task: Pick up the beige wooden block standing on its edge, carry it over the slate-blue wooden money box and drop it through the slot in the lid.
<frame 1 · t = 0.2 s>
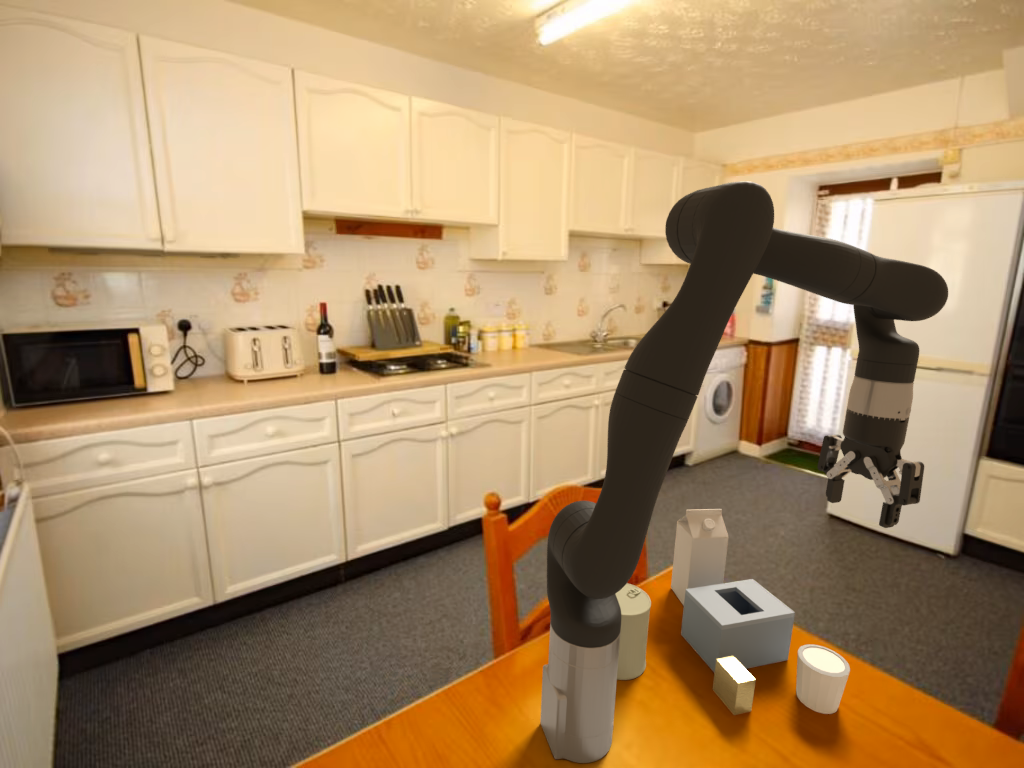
hand: (858, 513, 79), 28 cm above the table, fingers open, 8 cm apart
white cup: (816, 700, 81), on the table
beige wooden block: (731, 700, 80), on the table
can: (617, 660, 88), on the table
milk carton: (694, 598, 105), on the table
coin box: (732, 646, 91), on the table
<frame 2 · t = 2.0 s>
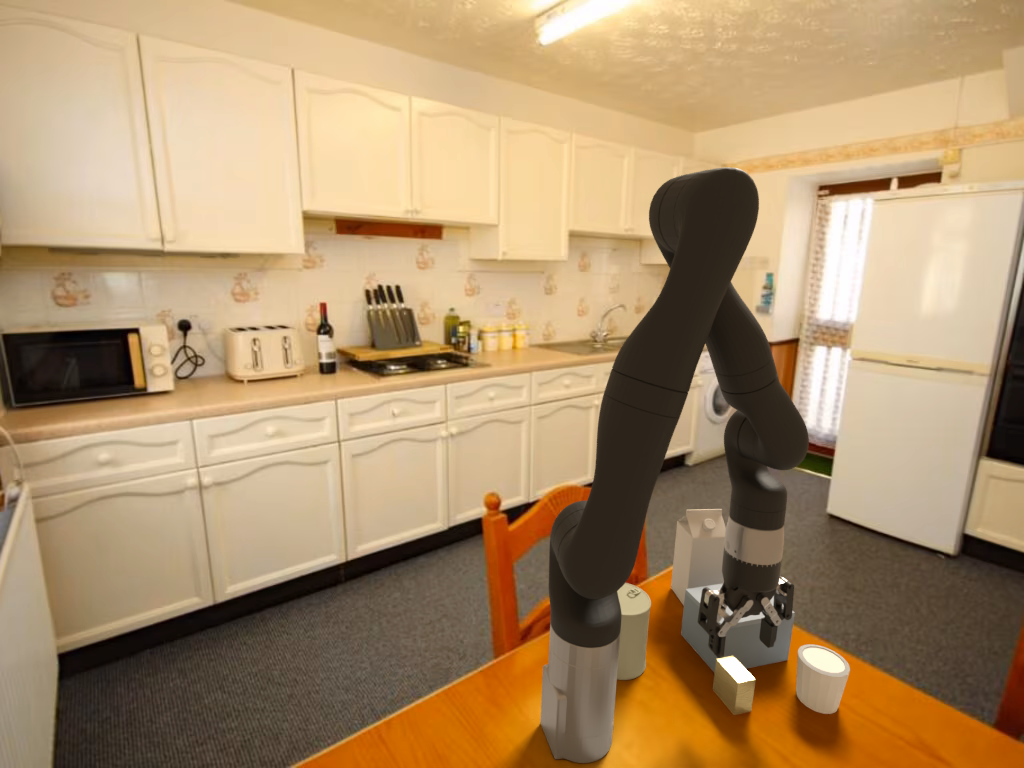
hand: (741, 648, 78), 9 cm above the table, fingers open, 8 cm apart
nothing on the table moved.
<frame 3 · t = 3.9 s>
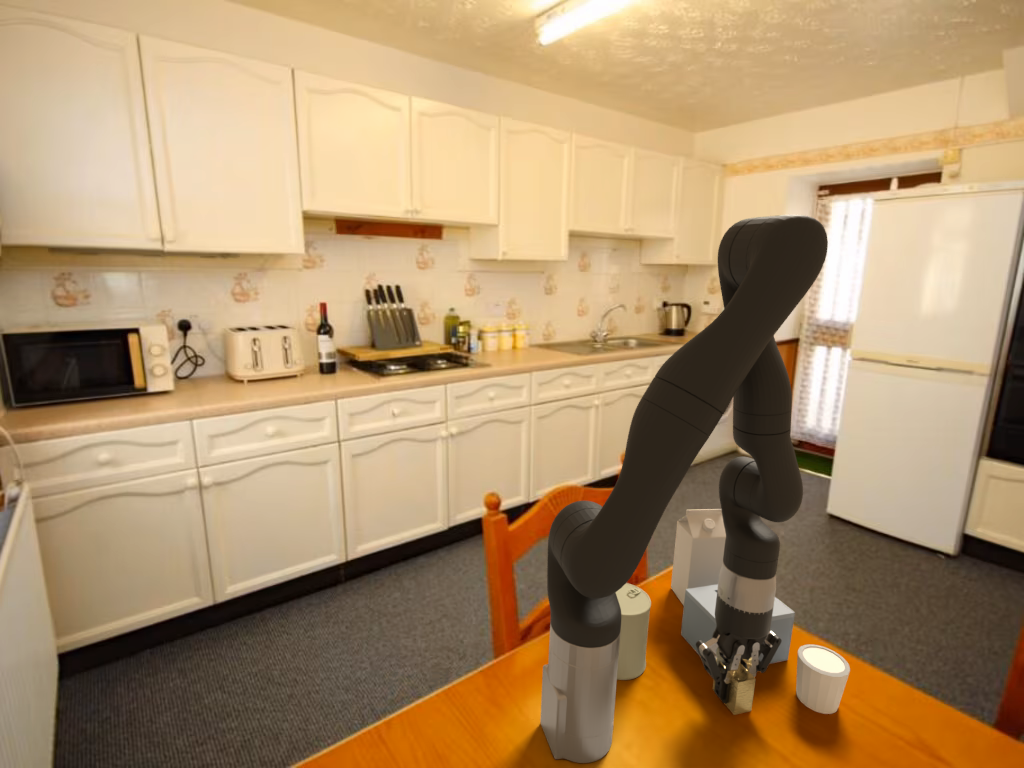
hand: (731, 696, 80), 1 cm above the table, fingers closed on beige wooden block, 2 cm apart
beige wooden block: (731, 699, 80), on the table, touching gripper
everything else where it was.
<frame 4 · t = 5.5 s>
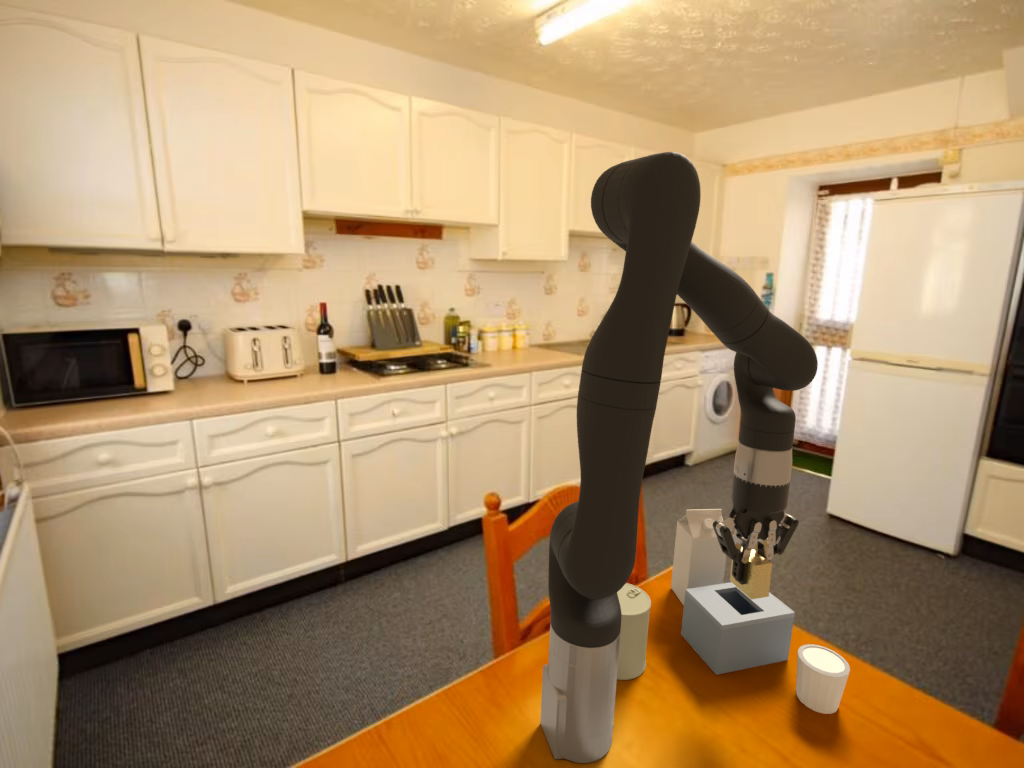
hand: (749, 579, 80), 18 cm above the table, fingers closed on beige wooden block, 2 cm apart
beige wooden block: (748, 588, 81), point 16 cm above the table, touching gripper
everything else where it was.
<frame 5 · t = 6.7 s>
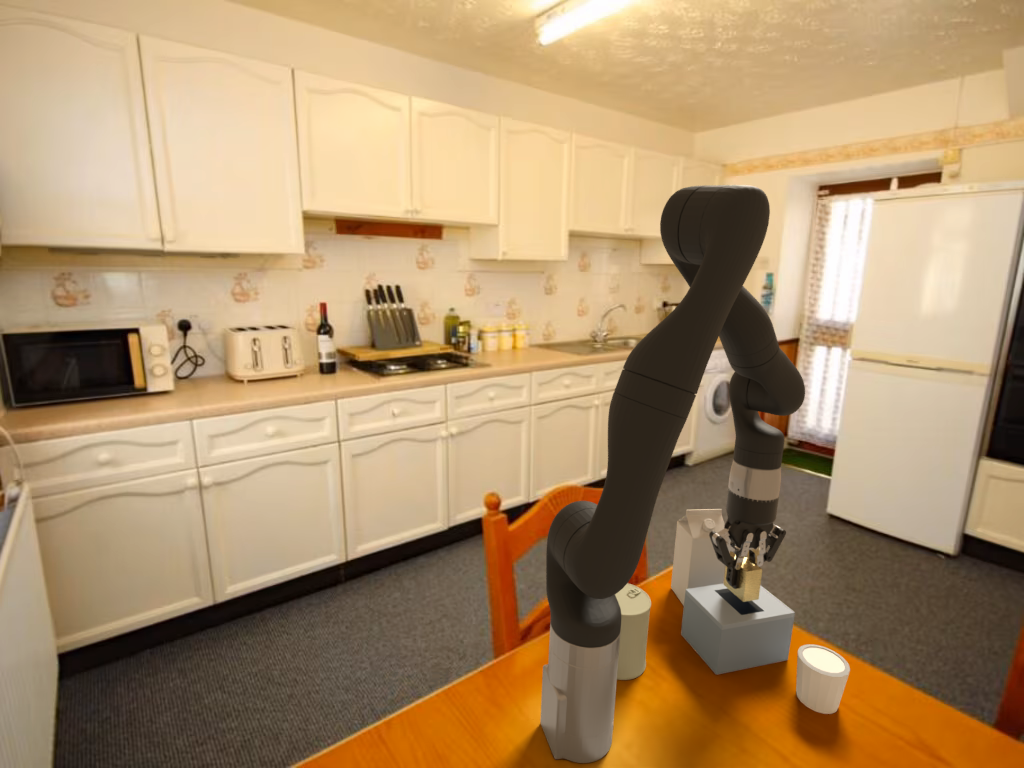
hand: (741, 584, 89), 12 cm above the table, fingers closed on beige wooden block, 2 cm apart
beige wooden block: (740, 591, 89), point 11 cm above the table, touching gripper
everything else where it was.
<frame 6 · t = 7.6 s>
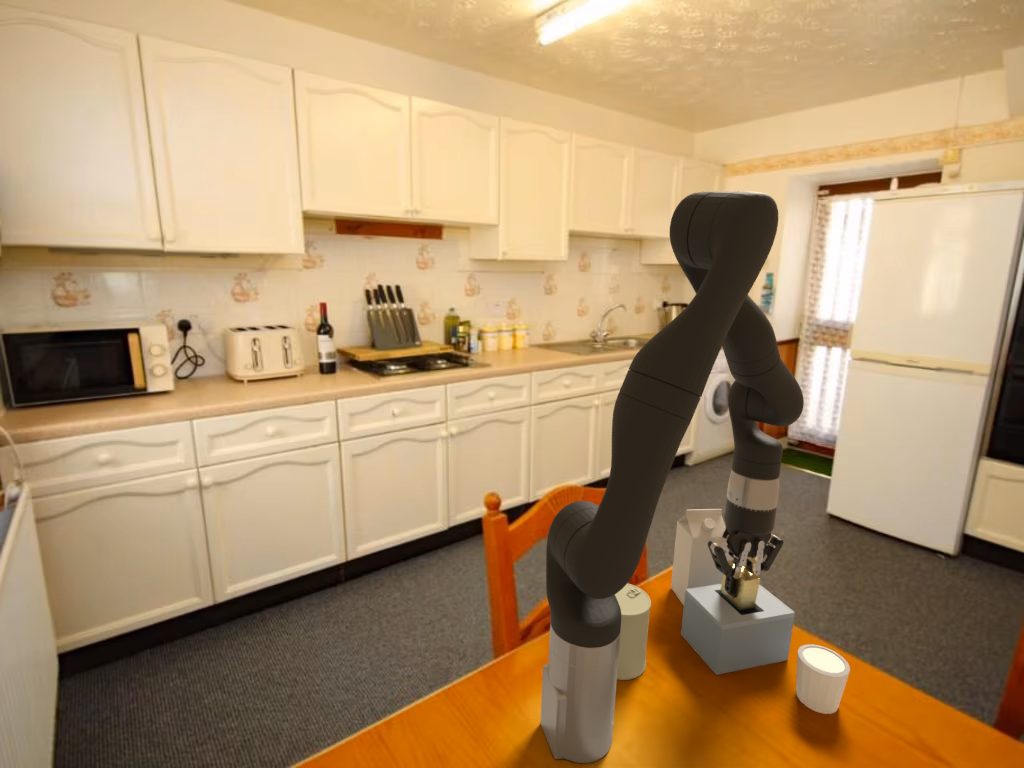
hand: (739, 593, 89), 10 cm above the table, fingers closed on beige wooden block, 2 cm apart
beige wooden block: (737, 598, 90), point 9 cm above the table, touching gripper
everything else where it was.
when the fingers open (10 cm above the table, at t = 7.6 s): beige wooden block drops 8 cm, resting on coin box.
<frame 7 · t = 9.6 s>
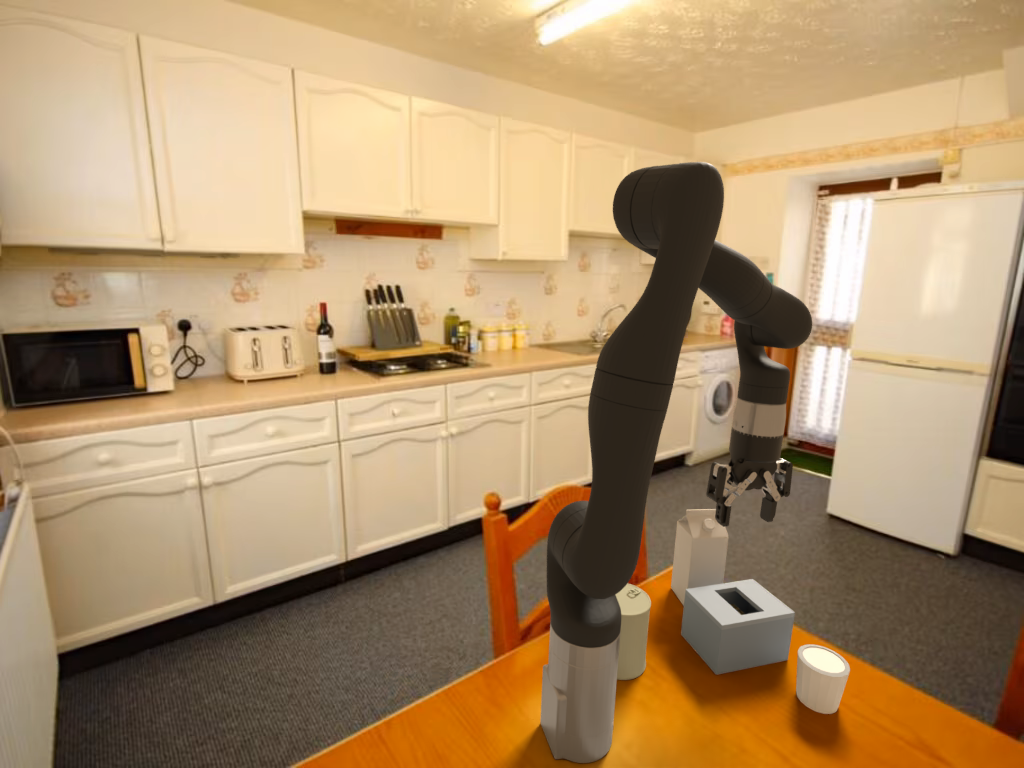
hand: (744, 522, 87), 23 cm above the table, fingers open, 8 cm apart
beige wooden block: (732, 641, 91), point 1 cm above the table, touching coin box
everything else where it was.
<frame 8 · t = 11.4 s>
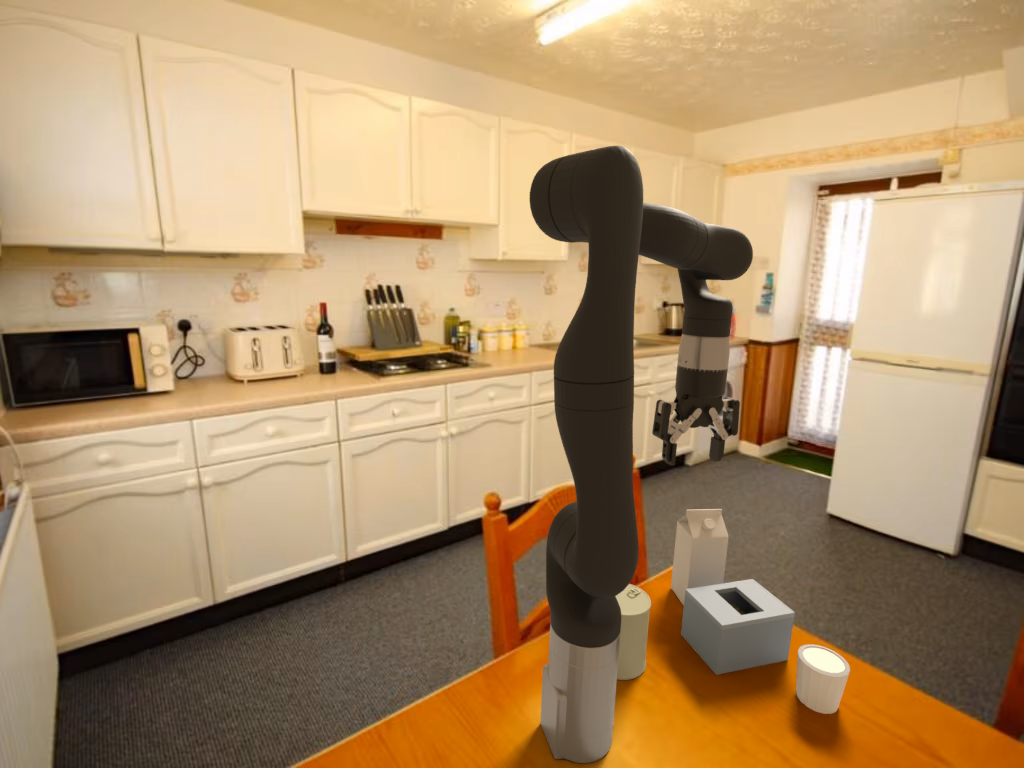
hand: (692, 461, 86), 33 cm above the table, fingers open, 8 cm apart
nothing on the table moved.
at the end: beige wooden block inside the target area on the coin box (0.3 cm from its centre), point 0.8 cm above the coin box's base; the gripper is holding nothing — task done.
